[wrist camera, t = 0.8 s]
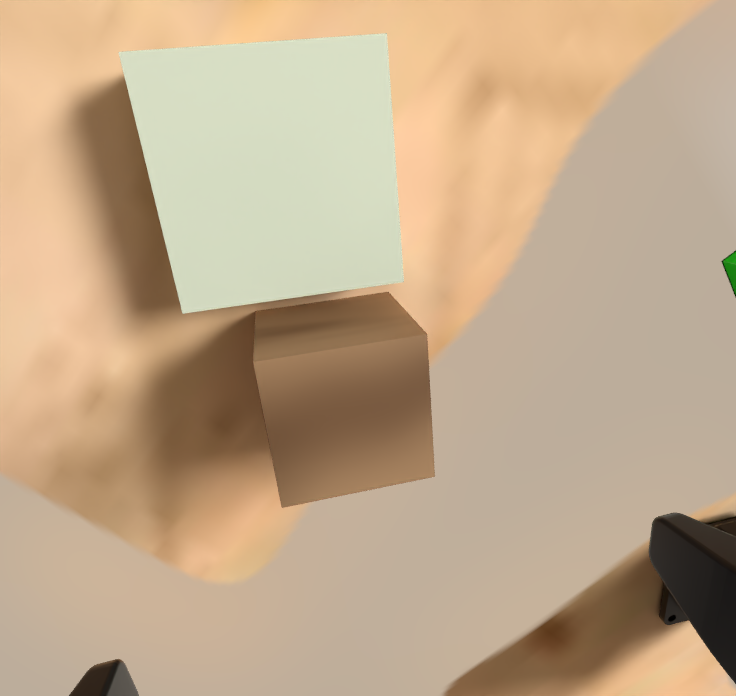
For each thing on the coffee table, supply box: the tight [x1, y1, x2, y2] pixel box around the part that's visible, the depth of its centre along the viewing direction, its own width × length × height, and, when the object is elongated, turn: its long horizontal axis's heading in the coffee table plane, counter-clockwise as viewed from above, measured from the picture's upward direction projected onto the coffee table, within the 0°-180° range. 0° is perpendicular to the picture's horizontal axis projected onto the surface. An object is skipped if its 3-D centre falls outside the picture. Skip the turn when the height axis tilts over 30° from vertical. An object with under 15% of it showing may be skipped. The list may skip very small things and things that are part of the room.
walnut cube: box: [253, 292, 435, 508], centre depth 17 cm, size 5×5×5 cm
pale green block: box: [119, 33, 404, 314], centre depth 16 cm, size 7×7×2 cm
